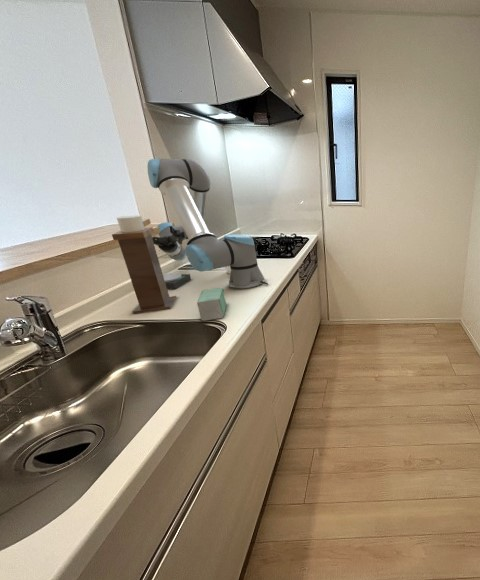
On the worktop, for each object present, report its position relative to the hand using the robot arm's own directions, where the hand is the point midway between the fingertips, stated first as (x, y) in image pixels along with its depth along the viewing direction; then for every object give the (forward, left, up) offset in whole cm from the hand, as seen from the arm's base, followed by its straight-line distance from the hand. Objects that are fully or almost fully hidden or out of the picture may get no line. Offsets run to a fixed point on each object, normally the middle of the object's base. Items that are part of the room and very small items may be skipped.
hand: (152, 230), depth 134 cm
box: (-34, +28, -27) cm, 52 cm away
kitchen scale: (+3, -5, -27) cm, 27 cm away
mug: (-22, -24, -27) cm, 42 cm away
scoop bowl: (-5, +14, +3) cm, 15 cm away
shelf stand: (-7, +20, -27) cm, 34 cm away
